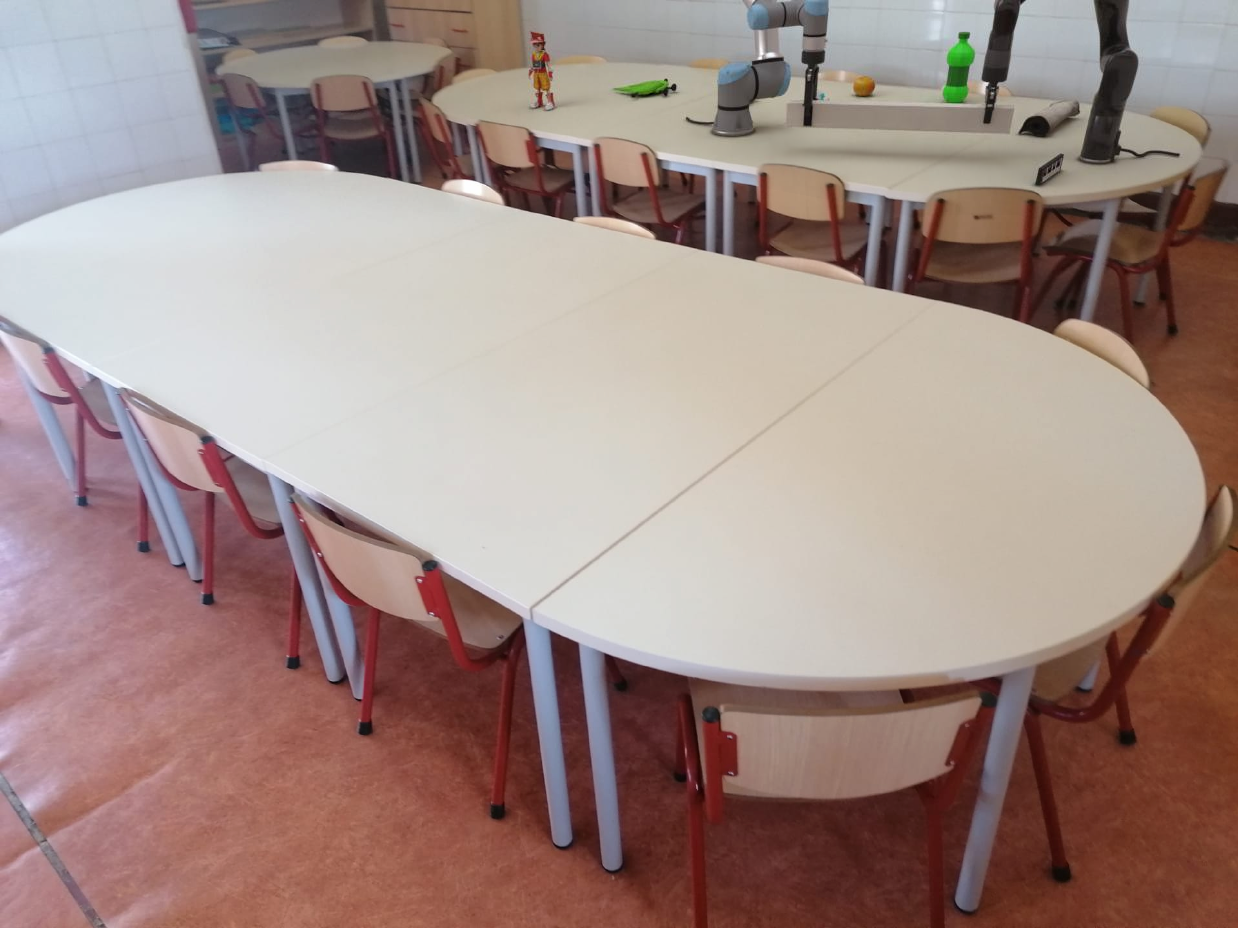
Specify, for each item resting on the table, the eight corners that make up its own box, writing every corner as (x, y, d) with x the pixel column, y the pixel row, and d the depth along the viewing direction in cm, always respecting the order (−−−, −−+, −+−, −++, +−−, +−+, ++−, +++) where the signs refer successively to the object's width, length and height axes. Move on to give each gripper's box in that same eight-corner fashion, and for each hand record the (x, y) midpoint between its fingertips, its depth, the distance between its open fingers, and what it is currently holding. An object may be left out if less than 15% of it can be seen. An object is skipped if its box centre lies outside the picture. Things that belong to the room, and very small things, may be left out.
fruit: (848, 88, 368) (860, 70, 365) (850, 91, 375) (862, 74, 372) (865, 99, 366) (877, 81, 363) (867, 102, 374) (879, 85, 371)
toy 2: (686, 85, 398) (631, 84, 414) (685, 72, 395) (629, 72, 411) (651, 104, 381) (596, 103, 397) (650, 92, 378) (594, 91, 394)
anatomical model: (804, 89, 349) (829, 82, 348) (807, 116, 355) (832, 109, 354) (814, 99, 336) (840, 91, 335) (817, 126, 342) (843, 119, 341)
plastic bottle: (973, 101, 354) (984, 32, 339) (955, 106, 349) (966, 36, 335) (952, 97, 361) (962, 29, 346) (934, 102, 356) (944, 33, 342)
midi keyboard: (1039, 185, 269) (1043, 168, 266) (1035, 184, 270) (1038, 168, 267) (1060, 170, 279) (1064, 154, 277) (1056, 169, 280) (1060, 153, 277)
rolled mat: (1047, 105, 331) (1071, 88, 323) (1061, 126, 332) (1085, 109, 324) (1014, 127, 314) (1039, 109, 306) (1028, 149, 314) (1054, 132, 306)
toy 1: (525, 109, 381) (517, 32, 364) (534, 104, 388) (527, 28, 371) (550, 110, 377) (543, 32, 360) (559, 105, 384) (553, 28, 367)
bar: (785, 126, 306) (787, 103, 302) (788, 123, 310) (789, 99, 306) (1009, 134, 286) (1014, 108, 281) (1009, 130, 289) (1014, 105, 285)
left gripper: (821, 55, 284) (815, 131, 298) (829, 44, 298) (823, 117, 311) (797, 55, 287) (793, 130, 300) (806, 44, 300) (802, 116, 314)
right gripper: (1010, 69, 272) (999, 127, 281) (1009, 60, 283) (998, 116, 292) (983, 69, 274) (974, 127, 284) (983, 59, 285) (974, 115, 295)
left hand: (808, 123), depth 306 cm, fingers closed on bar, 5 cm apart
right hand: (986, 121), depth 288 cm, fingers closed on bar, 4 cm apart
